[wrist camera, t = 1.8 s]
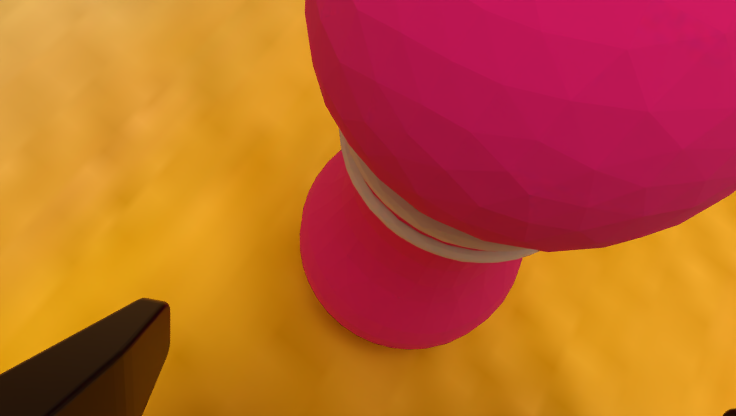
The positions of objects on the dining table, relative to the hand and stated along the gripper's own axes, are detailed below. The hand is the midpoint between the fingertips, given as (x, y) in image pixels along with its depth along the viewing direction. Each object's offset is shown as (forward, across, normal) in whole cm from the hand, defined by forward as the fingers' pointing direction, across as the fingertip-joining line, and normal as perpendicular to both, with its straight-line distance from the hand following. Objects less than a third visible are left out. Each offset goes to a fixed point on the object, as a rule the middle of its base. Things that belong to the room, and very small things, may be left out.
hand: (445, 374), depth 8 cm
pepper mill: (+12, 0, +6) cm, 13 cm away
